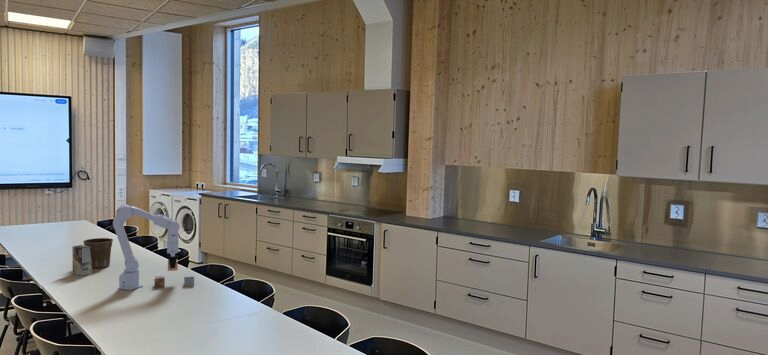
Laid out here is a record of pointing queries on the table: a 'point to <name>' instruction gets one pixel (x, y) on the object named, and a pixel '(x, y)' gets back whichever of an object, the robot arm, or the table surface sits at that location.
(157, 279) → the walnut block
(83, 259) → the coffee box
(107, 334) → the table surface
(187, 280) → the slate block
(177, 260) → the orange block
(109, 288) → the table surface
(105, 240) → the plant pot
